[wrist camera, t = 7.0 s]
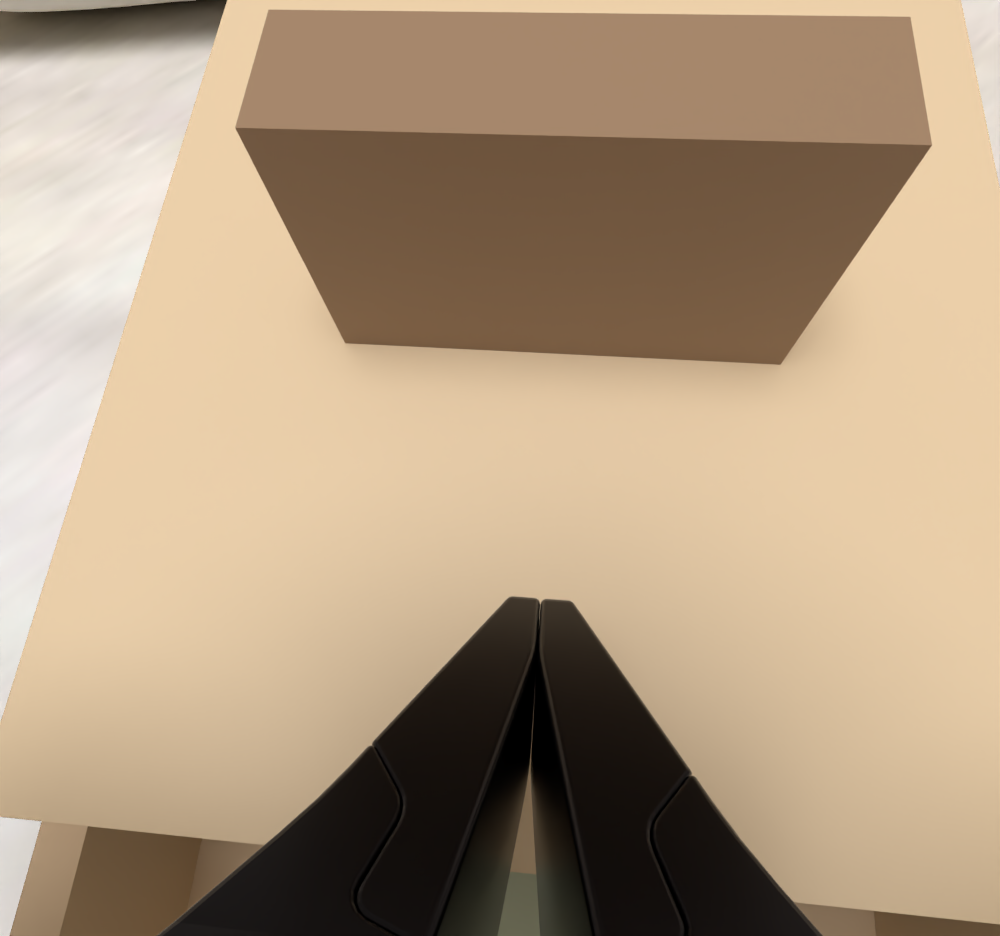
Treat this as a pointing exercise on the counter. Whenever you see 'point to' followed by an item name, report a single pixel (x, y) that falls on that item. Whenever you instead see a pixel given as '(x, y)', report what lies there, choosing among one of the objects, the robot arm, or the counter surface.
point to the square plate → (70, 4)
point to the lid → (555, 423)
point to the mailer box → (205, 862)
